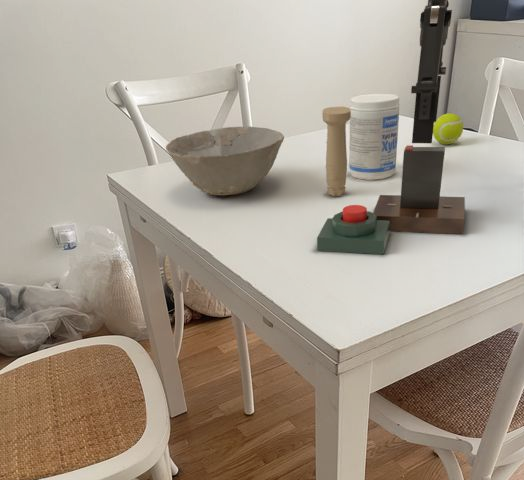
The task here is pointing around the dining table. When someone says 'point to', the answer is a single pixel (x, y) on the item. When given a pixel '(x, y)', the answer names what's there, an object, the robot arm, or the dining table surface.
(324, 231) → the button box
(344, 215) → the button
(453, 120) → the tennis ball
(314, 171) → the dining table surface
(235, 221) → the dining table surface
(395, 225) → the panel
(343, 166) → the handle
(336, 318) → the dining table surface
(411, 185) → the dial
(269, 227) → the dining table surface
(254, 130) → the ceramic bowl
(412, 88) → the robot arm
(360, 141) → the supplement tub
